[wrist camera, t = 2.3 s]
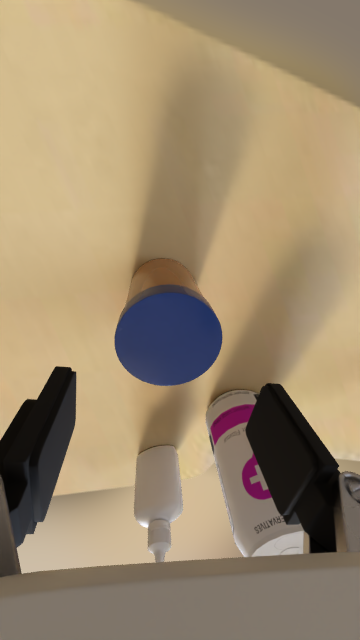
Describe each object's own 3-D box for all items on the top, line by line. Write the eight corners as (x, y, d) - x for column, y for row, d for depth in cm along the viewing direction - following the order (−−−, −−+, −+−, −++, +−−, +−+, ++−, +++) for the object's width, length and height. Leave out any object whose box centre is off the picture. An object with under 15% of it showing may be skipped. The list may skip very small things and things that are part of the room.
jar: (200, 264, 24) (229, 301, 15) (187, 322, 27) (205, 383, 18) (134, 252, 23) (123, 285, 14) (127, 315, 26) (114, 376, 17)
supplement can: (210, 384, 31) (256, 528, 17) (272, 387, 32) (361, 523, 18) (199, 431, 34) (230, 582, 21) (255, 432, 35) (320, 575, 22)
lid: (228, 292, 16) (236, 301, 15) (205, 375, 19) (209, 389, 18) (122, 276, 15) (119, 284, 14) (114, 367, 18) (110, 381, 16)
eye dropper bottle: (173, 465, 37) (182, 575, 26) (134, 462, 35) (127, 577, 25) (180, 444, 35) (193, 554, 24) (140, 441, 34) (135, 554, 23)
